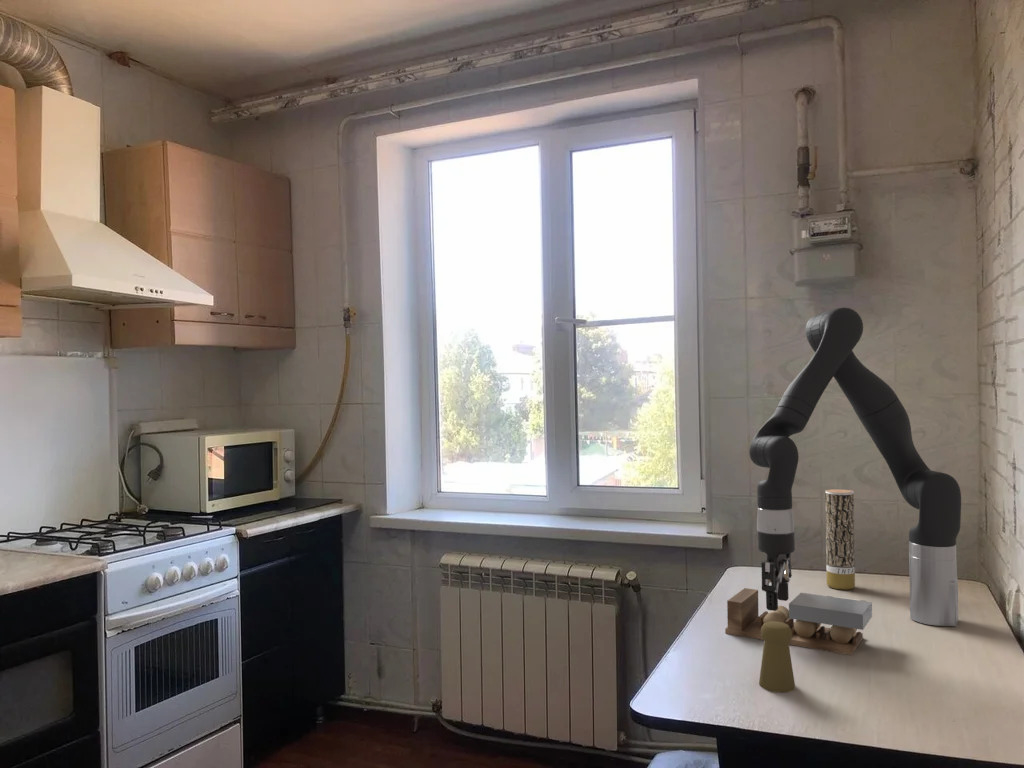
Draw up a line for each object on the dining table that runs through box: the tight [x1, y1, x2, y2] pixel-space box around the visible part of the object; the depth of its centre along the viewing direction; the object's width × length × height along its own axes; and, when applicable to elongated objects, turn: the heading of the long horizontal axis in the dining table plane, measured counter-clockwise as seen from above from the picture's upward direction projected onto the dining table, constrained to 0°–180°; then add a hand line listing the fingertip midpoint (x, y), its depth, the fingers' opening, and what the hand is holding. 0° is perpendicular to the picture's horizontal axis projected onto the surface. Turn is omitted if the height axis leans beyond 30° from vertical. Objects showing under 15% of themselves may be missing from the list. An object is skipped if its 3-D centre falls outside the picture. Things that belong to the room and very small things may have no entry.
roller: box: [763, 605, 789, 623], centre depth 162 cm, size 4×6×4 cm, turn 146°
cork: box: [758, 621, 796, 694], centre depth 134 cm, size 6×6×11 cm
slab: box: [788, 592, 873, 631], centre depth 156 cm, size 14×10×3 cm
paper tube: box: [824, 488, 856, 591], centre depth 198 cm, size 7×7×25 cm
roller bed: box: [724, 587, 864, 656], centre depth 161 cm, size 25×12×7 cm, turn 56°
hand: (777, 604), depth 162 cm, fingers open, 8 cm apart
